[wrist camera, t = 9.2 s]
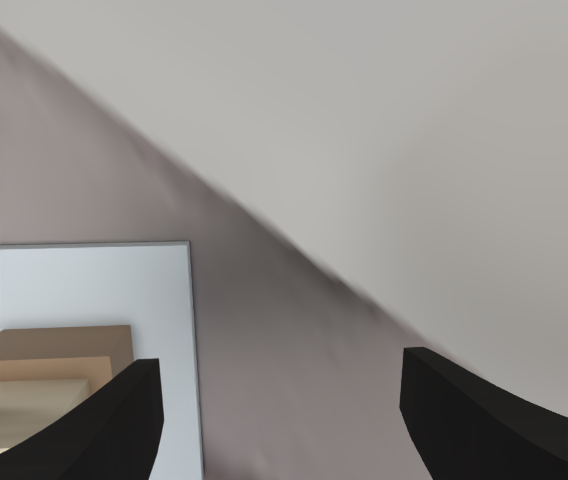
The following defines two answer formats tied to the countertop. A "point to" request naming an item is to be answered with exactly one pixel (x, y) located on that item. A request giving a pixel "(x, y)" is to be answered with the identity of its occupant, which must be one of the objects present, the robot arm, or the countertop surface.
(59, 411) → the maple block
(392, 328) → the countertop surface
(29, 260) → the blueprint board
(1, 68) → the countertop surface
